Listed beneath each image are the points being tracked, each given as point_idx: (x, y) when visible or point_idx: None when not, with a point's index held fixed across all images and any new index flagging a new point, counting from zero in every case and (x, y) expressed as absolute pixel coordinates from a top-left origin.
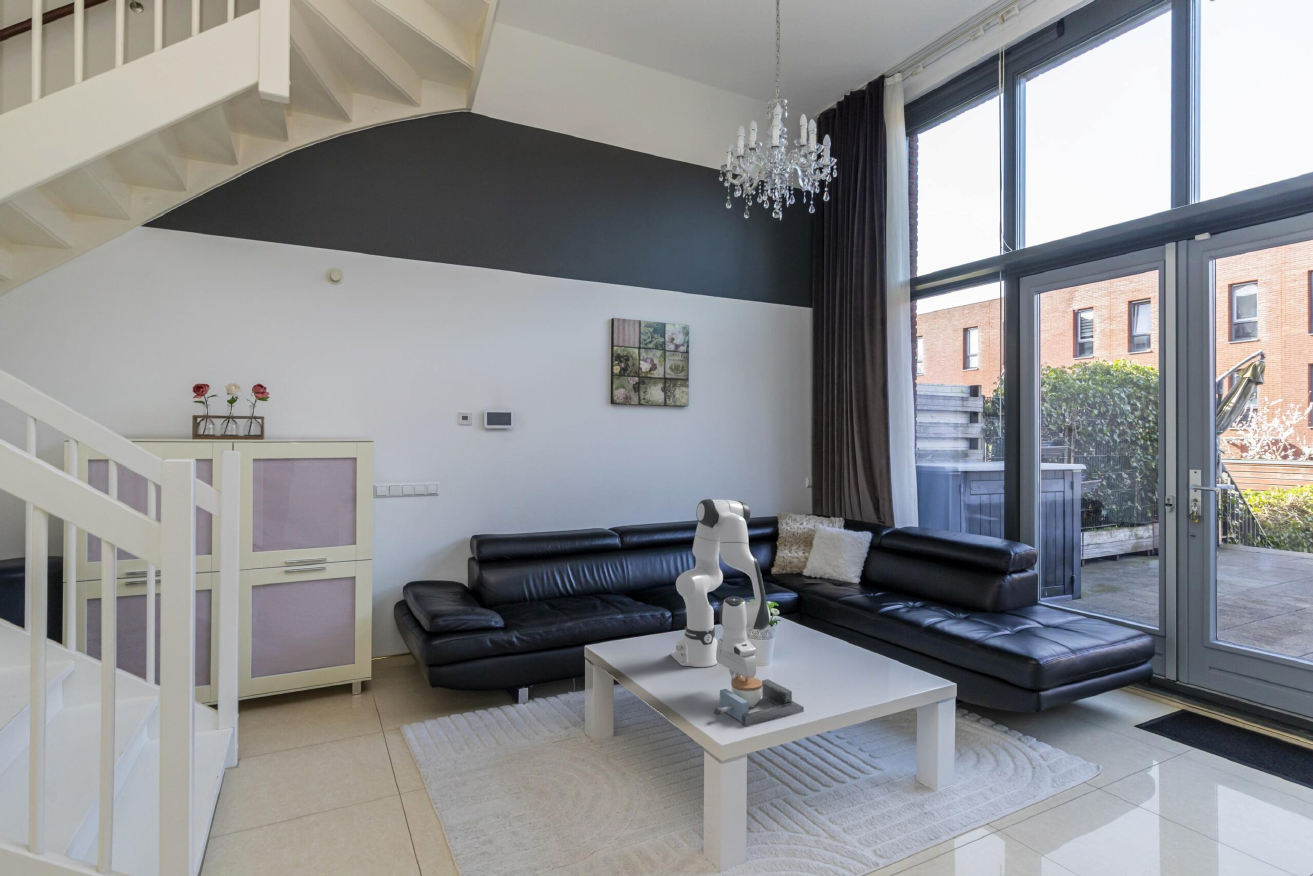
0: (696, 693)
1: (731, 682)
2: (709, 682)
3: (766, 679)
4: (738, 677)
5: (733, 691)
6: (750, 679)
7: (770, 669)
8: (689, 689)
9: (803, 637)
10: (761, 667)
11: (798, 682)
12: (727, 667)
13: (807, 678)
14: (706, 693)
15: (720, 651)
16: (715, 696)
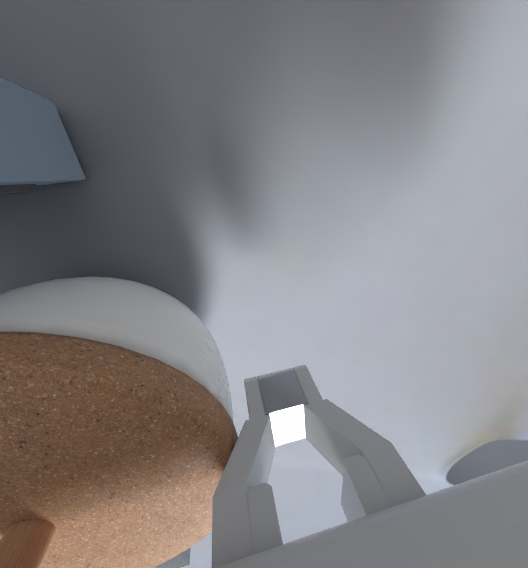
0: (438, 81)
1: (40, 367)
2: (491, 258)
3: (184, 561)
4: (217, 471)
5: (18, 301)
6: (105, 553)
7: (412, 474)
8: (523, 67)
9: None
10: (441, 458)
11: (287, 516)
12: (457, 506)
13: (301, 532)
14: (393, 163)
15: None
16: (320, 202)
